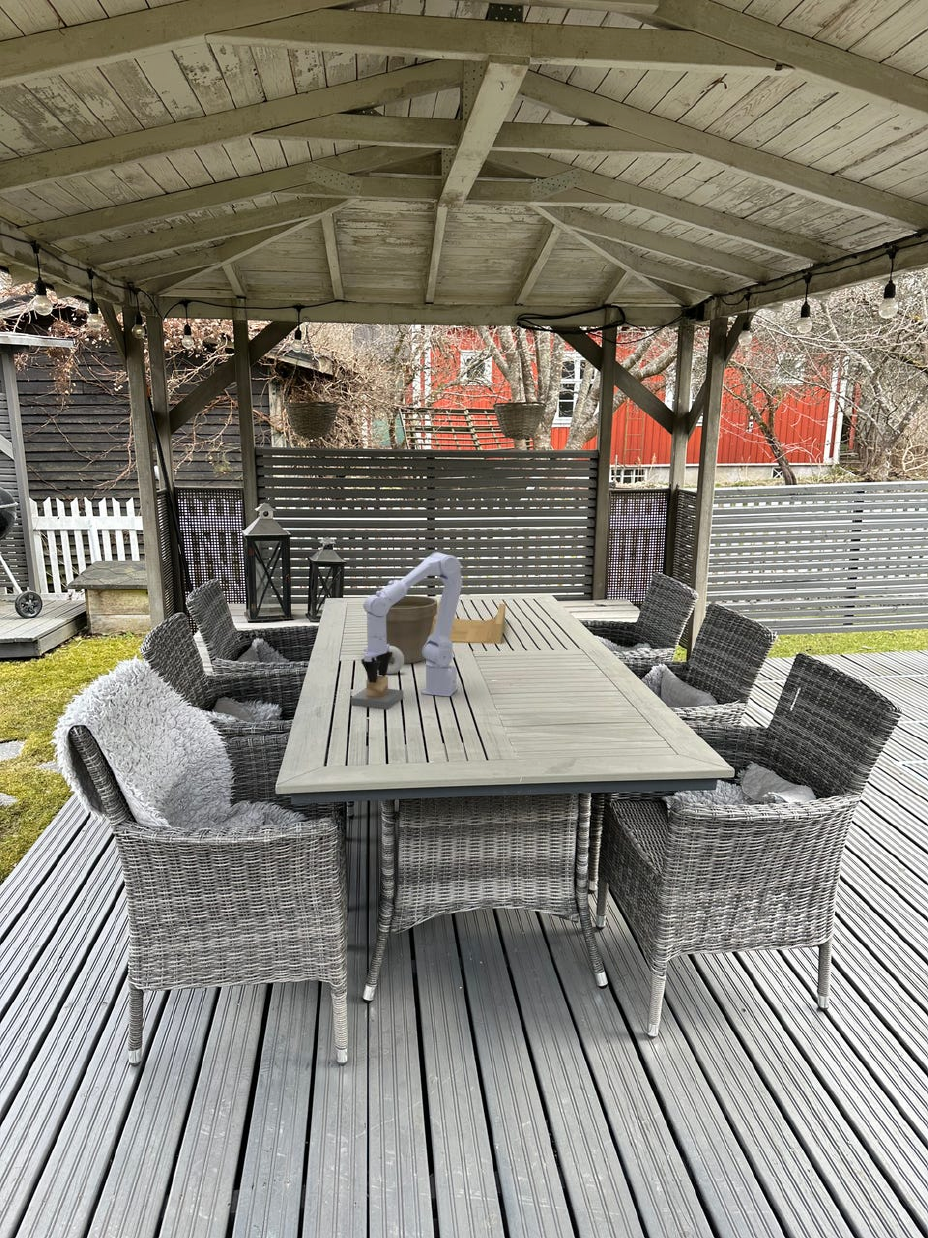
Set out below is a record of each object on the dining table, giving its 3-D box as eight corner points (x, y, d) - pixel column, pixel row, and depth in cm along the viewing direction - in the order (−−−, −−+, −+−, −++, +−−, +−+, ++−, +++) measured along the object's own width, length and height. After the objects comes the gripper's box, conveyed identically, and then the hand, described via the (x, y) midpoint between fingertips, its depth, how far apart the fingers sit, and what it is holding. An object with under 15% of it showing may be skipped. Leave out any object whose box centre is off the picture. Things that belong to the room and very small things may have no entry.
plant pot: (355, 662, 286) (354, 603, 281) (392, 647, 307) (392, 592, 303) (415, 671, 275) (414, 610, 270) (449, 655, 296) (449, 598, 291)
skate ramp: (500, 647, 315) (502, 607, 311) (412, 642, 317) (413, 603, 314) (504, 625, 354) (506, 589, 350) (425, 620, 356) (426, 585, 353)
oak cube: (388, 692, 243) (387, 676, 242) (382, 697, 238) (381, 681, 237) (372, 690, 244) (372, 675, 243) (366, 695, 240) (366, 679, 239)
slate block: (403, 699, 246) (403, 690, 245) (387, 711, 235) (387, 702, 234) (368, 695, 250) (368, 686, 249) (351, 707, 238) (351, 697, 238)
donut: (374, 675, 270) (374, 646, 268) (376, 672, 273) (375, 644, 271) (404, 675, 270) (403, 647, 267) (405, 672, 273) (404, 644, 271)
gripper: (374, 629, 245) (375, 671, 248) (354, 639, 232) (355, 684, 235) (395, 630, 243) (396, 673, 246) (376, 641, 230) (377, 686, 233)
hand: (377, 678), depth 240 cm, fingers open, 7 cm apart
